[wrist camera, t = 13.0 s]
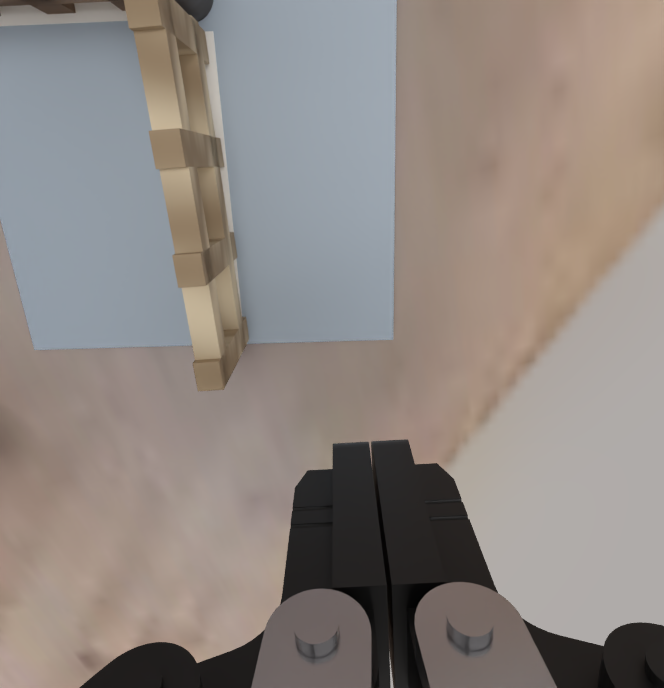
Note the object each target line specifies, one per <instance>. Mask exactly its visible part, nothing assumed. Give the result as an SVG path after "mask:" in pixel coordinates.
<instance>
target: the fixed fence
mask: <svg viewBox="0 0 664 688" xmlns="http://www.w3.org/2000/svg"><path fill="white" fill-rule="evenodd" d="M175 1H176V2H177V3H178V4H179V5H180V6H181V7H182V8H183V9H184V10H185V11H186V12H187V14H188V15H192V16H193V17H194V19H195V20H196V21H197V22H199V21H201V20H203V19H204V18H205V17H206V16H207V15H208V14H209V12H210V10H211V8H212V5H213V1H214V0H175ZM90 2H111V3H112V4H114V5H115V6H116V7H118V8H119V9H121V10H122V11H126V10H125V5H124V0H0V6H22V5H31V6H33V7H35V8H37V9H38V10H40V11H42V12H44V13H46V14H66V13H76V11H75V5H74V3H90ZM0 16H1V13H0Z"/></svg>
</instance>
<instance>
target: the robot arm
mask: <svg viewBox="0 0 664 688" xmlns="http://www.w3.org/2000/svg"><path fill="white" fill-rule="evenodd" d="M371 450H372V464H371V456H370V448H369V442H356V443H338V444H333V469H328V470H310V471H307V472H306V474H305V475H304V476H303V478H302V479H301V480H300V482H299V483H298V485H297V486H296V487H295V493H294V501H293V511H292V518H291V529H290V535H289V543H288V551H287V560H286V568H285V577H284V585H283V593H282V599H281V604H280V606H279V607H278V608H277V609H276V610H275V611H274V612H273V614H272V615H271V617H270V619H269V620H268V622H267V625H266V628H265V630H264V631H263V632H262V633H261V634H260V635H258V636H257V637H256V638H254V639H253V640H252V641H250V642H248V643H247V644H245V645H243V646H242V647H239V648H237V649H235V650H232V651H230V652H227V653H224V654H221V655H219V656H216V657H213V658H210V659H208V660H205V661H202V662H199V663H196V661H195V659H194V657H193V656H192V655H191V654H190V653H189V652H188V651H187V650H186V649H184V648H183V647H181V646H178V645H176V644H172V643H167V642H156V643H150V644H145V645H142V646H139V647H136V648H134V649H131V650H129V651H127V652H125V653H124V654H122V655H120V656H118V657H117V658H116V659H114V660H113V661H112V662H110V663H109V664H108V665H106V666H105V667H104V668H103V669H102V670H100V671H99V672H98V673H97V674H95V675H94V676H93V677H92V678H91V679H89V680H88V681H87V682H86V683H85V684H83V685H82V686H81V687H80V688H390V662H389V651H390V660H391V668H392V677H393V686H394V688H664V626H662V625H657V624H652V623H630V624H626V625H623V626H620V627H618V628H617V629H615V630H614V631H613V632H612V633H610V634H609V636H608V638H607V639H606V641H605V644H604V646H600V645H596V644H592V643H588V642H584V641H579V640H576V639H572V638H568V637H563V636H560V635H556V634H553V633H550V632H547V631H545V630H542V629H540V628H538V627H536V626H534V625H532V624H530V623H528V622H527V621H525V620H524V619H522V618H521V616H520V614H519V613H518V611H517V610H516V609H515V608H514V606H513V605H512V604H511V603H510V602H509V601H508V600H506V599H505V598H504V597H503V596H501V595H500V594H498V592H497V590H496V587H495V586H494V583H493V580H492V578H491V575H490V572H489V570H488V567H487V564H486V562H485V559H484V557H483V554H482V551H481V549H480V546H479V543H478V541H477V538H476V536H475V533H474V530H473V528H472V525H471V523H470V520H469V519H468V515H467V512H466V510H465V507H464V504H463V502H461V497H460V494H459V491H458V489H457V486H456V483H455V481H454V479H453V478H452V477H451V476H450V475H449V474H448V473H447V472H446V471H445V470H444V469H442V468H441V467H440V466H439V465H438V464H437V463H435V464H417V465H415V464H414V460H413V456H412V452H411V449H410V445H409V442H408V440H389V441H372V442H371Z"/></svg>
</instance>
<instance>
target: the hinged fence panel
mask: <svg viewBox="0 0 664 688" xmlns="http://www.w3.org/2000/svg"><path fill="white" fill-rule="evenodd" d="M124 5H125V10H126V15H127V20H128V26H129V29H131V30H132V31H133V32H134V37H135V43H136V48H137V53H138V59H139V64H140V69H141V75H142V80H143V85H144V91H145V96H146V101H147V107H148V112H149V117H150V123H151V128H152V131H149V136H150V141H151V147H152V152H153V157H154V163H155V168H156V169H159V170H160V176H161V181H162V186H163V192H164V197H165V202H166V208H167V213H168V218H169V224H170V229H171V234H172V240H173V245H174V250H175V254H174V255H172V257H173V262H174V268H175V273H176V278H177V283H178V288H182V293H183V298H184V304H185V309H186V314H187V320H188V325H189V330H190V336H191V341H192V346H193V352H194V357H195V361H194V362H193V368H194V373H195V378H196V383H197V389H198V391H210V390H224V388H225V386H226V384H227V382H228V380H229V378H230V376H231V374H232V372H233V370H234V368H235V366H236V364H237V362H238V360H239V358H240V356H241V354H242V352H243V350H244V348H245V347H246V345H247V343H248V341H249V334H248V327H247V320H246V317H242V315H241V308H240V301H239V294H238V287H237V281H236V274H235V267H234V260H235V259H236V258H237V250H236V243H235V237H234V232H229V226H228V220H227V213H226V206H225V199H224V192H223V186H222V179H221V172H220V167H224V160H223V153H222V146H221V139H220V138H217V137H215V131H214V125H213V118H212V111H211V104H210V97H209V91H208V84H207V77H206V70H205V64H210V63H209V56H208V49H207V42H206V36H205V31H204V30H203V29H202V28H201V27H200V26H199V23H198V22H197V21H196V20H195V19H194V17H193V16H192V15H188V14H187V12H186V11H185V10H184V9H183V8H182V7H181V6H180V5H179V4H178V3H177V2H176V1H175V0H124Z"/></svg>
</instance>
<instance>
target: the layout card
mask: <svg viewBox="0 0 664 688" xmlns="http://www.w3.org/2000/svg"><path fill="white" fill-rule="evenodd" d="M74 5H75V11H76V13H66V14H46V13H44V12H42V11H40V10H38V9H37V8H35V7H33V6H31V5H22V6H0V13H1V16H0V220H1V224H2V228H3V232H4V235H5V239H6V243H7V247H8V251H9V255H10V258H11V262H12V266H13V270H14V274H15V278H16V281H17V285H18V289H19V293H20V297H21V300H22V304H23V308H24V312H25V316H26V320H27V323H28V327H29V331H30V335H31V339H32V343H33V346H34V350H52V349H87V348H121V347H156V346H190V345H192V341H191V336H190V330H189V325H188V320H187V314H186V309H185V304H184V298H183V293H182V288H178V283H177V278H176V273H175V268H174V262H173V257H172V255H174V254H175V250H174V245H173V240H172V234H171V229H170V224H169V218H168V213H167V208H166V202H165V197H164V192H163V186H162V181H161V176H160V170H159V169H156V168H155V163H154V157H153V152H152V147H151V141H150V136H149V131H152V128H151V123H150V117H149V112H148V107H147V101H146V96H145V91H144V85H143V80H142V75H141V69H140V64H139V59H138V53H137V48H136V43H135V37H134V32H133V31H132V30H131V29H129V26H128V20H127V15H126V11H122V10H121V9H119V8H118V7H116V6H115V5H114V4H112V3H111V2H90V3H74ZM396 7H397V0H214V1H213V5H212V8H211V10H210V12H209V14H208V15H207V16H206V17H205V18H204V19H203V20H201V21H199V22H198V23H199V26H200V27H201V28H202V29H203V30H204V31H205V36H206V42H207V49H208V56H209V63H210V64H205V70H206V77H207V84H208V91H209V97H210V104H211V111H212V118H213V125H214V131H215V137H217V138H220V139H221V146H222V153H223V160H224V167H220V172H221V179H222V186H223V192H224V199H225V206H226V213H227V220H228V226H229V232H234V237H235V243H236V250H237V258H236V259H235V260H234V267H235V274H236V281H237V287H238V294H239V301H240V308H241V315H242V317H246V320H247V327H248V334H249V341H248V343H247V344H259V343H293V342H328V341H362V340H393V318H394V214H395V111H396Z"/></svg>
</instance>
